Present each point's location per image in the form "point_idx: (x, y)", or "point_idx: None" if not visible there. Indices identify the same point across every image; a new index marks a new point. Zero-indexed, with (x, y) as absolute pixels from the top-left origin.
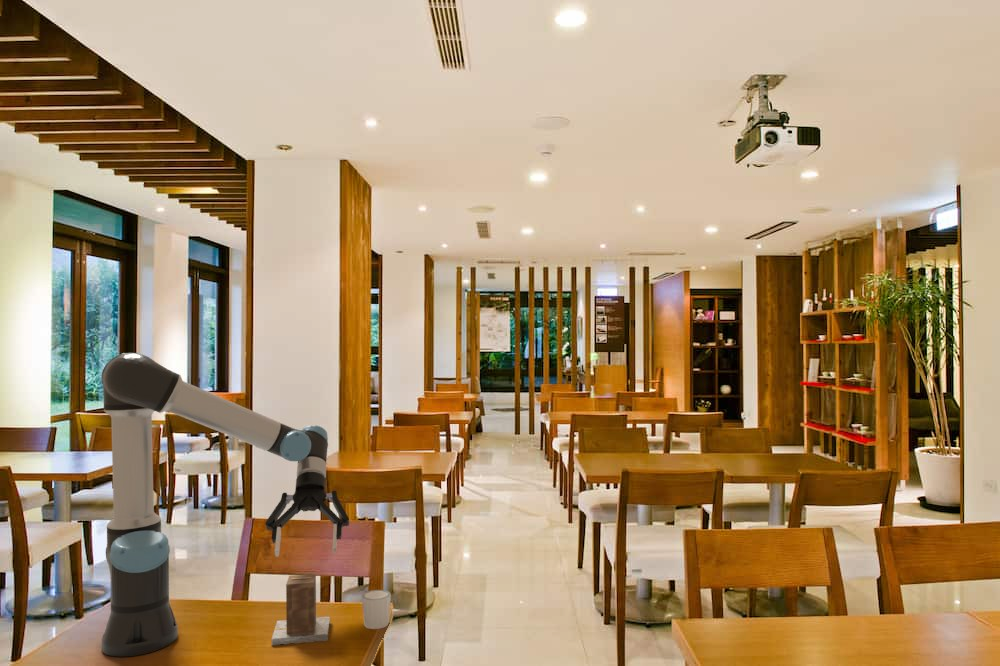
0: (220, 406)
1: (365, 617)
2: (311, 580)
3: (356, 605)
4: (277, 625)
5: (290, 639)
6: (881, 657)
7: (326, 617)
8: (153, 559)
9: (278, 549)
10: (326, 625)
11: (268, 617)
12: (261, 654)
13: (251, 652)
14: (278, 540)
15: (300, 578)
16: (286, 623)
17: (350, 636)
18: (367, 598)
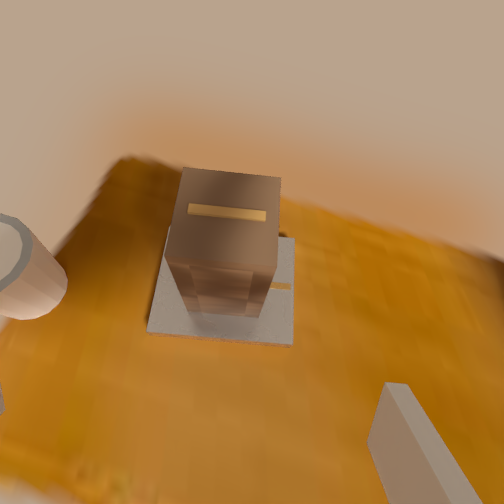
0: None
1: (56, 264)
2: (189, 186)
3: (34, 466)
4: (288, 310)
5: None
6: None
7: (156, 325)
8: None
9: (389, 423)
10: (164, 272)
11: (324, 438)
12: (306, 214)
13: (328, 228)
14: (432, 464)
15: (230, 209)
16: (266, 317)
17: (118, 239)
18: (20, 231)
